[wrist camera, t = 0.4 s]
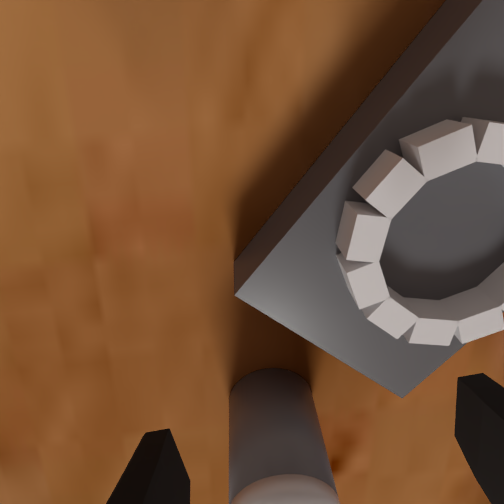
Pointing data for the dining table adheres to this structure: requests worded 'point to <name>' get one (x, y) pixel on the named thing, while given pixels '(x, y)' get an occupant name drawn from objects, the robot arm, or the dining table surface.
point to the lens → (277, 442)
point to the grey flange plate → (399, 213)
